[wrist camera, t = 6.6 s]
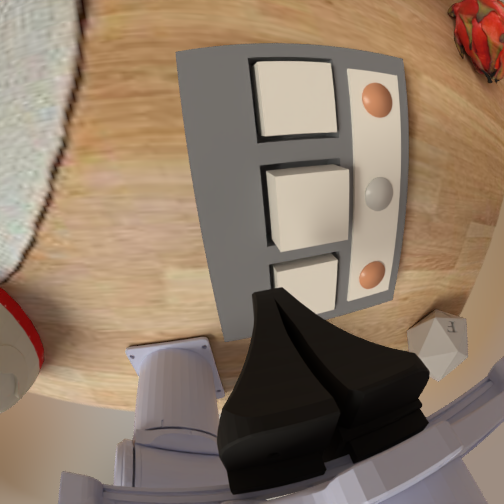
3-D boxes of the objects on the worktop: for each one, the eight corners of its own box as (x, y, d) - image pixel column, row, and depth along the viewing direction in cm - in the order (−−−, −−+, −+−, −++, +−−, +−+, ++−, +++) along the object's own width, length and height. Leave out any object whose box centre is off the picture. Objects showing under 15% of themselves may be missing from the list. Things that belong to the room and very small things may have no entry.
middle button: (334, 228, 18) (347, 239, 17) (272, 238, 18) (280, 252, 16) (333, 164, 17) (349, 169, 15) (266, 170, 16) (275, 176, 14)
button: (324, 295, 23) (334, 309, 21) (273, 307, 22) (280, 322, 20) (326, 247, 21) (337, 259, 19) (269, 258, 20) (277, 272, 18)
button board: (375, 283, 25) (394, 302, 22) (220, 318, 23) (225, 345, 20) (379, 63, 16) (405, 58, 13) (178, 63, 14) (175, 50, 11)
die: (448, 309, 32) (487, 313, 22) (438, 367, 31) (473, 384, 22) (402, 306, 33) (436, 310, 24) (391, 367, 32) (420, 389, 23)
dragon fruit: (454, -2, 14) (446, 75, 20) (442, -39, 8) (438, 49, 15) (516, 23, 9) (511, 104, 16) (522, -11, 4) (524, 87, 10)
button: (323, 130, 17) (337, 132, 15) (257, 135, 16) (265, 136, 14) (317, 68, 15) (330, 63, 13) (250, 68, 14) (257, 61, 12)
